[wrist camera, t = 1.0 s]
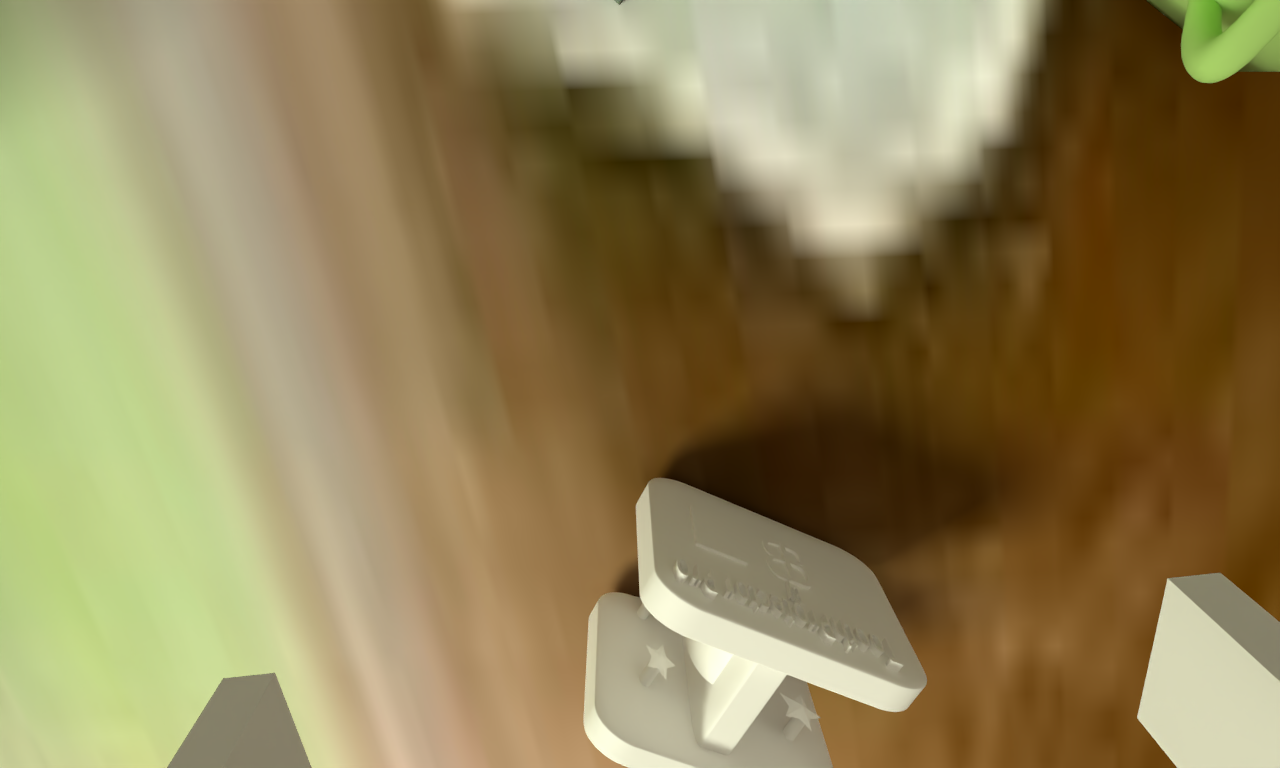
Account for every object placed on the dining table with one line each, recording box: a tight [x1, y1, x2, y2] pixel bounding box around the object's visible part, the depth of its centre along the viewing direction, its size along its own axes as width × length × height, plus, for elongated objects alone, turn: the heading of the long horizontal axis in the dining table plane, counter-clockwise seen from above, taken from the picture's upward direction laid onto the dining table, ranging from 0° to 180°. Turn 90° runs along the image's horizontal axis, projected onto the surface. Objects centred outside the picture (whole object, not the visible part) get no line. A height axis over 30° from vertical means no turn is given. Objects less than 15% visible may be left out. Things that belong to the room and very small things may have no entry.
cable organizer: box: [584, 478, 927, 768], centre depth 40 cm, size 15×11×12 cm
